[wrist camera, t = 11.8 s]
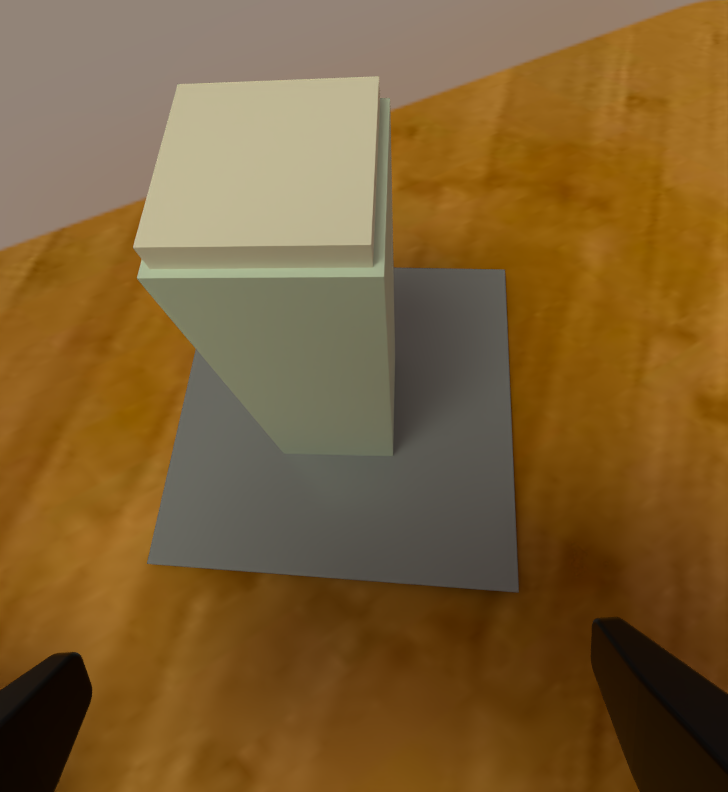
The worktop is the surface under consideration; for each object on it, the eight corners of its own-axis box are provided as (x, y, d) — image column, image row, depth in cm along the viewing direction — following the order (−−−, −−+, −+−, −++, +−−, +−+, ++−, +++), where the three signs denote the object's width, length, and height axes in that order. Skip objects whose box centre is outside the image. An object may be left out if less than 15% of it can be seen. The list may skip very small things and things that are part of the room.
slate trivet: (516, 592, 18) (518, 592, 17) (151, 564, 19) (146, 563, 19) (503, 274, 23) (504, 269, 22) (218, 269, 24) (215, 264, 24)
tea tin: (393, 455, 19) (383, 254, 8) (284, 453, 20) (118, 256, 8) (395, 356, 21) (389, 69, 10) (294, 356, 22) (170, 78, 10)
